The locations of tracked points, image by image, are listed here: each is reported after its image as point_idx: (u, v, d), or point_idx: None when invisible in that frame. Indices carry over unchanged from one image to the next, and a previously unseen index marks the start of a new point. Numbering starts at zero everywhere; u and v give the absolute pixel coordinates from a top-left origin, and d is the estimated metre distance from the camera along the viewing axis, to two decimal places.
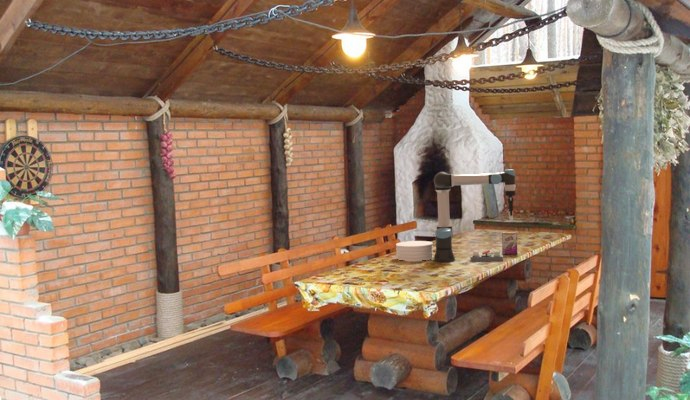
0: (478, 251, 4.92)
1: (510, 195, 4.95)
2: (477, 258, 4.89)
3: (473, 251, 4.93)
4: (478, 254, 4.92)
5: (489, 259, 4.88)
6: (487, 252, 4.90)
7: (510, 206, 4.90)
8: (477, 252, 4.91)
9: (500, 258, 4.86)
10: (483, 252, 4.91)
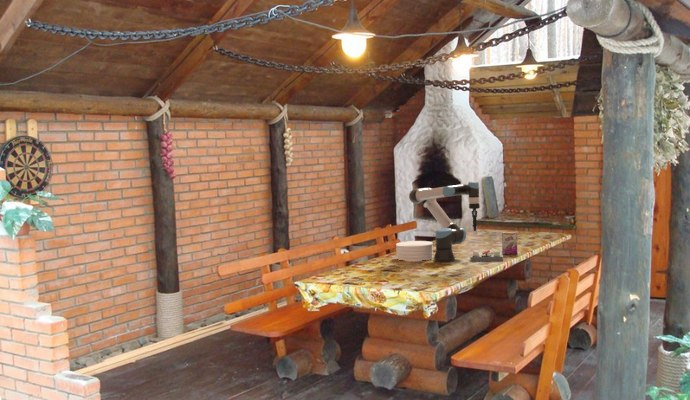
0: (478, 251, 4.92)
1: (474, 208, 4.87)
2: (477, 258, 4.89)
3: (473, 251, 4.93)
4: (478, 254, 4.92)
5: (489, 259, 4.88)
6: (487, 252, 4.90)
7: (474, 221, 4.85)
8: (477, 252, 4.91)
9: (500, 258, 4.86)
10: (483, 252, 4.91)
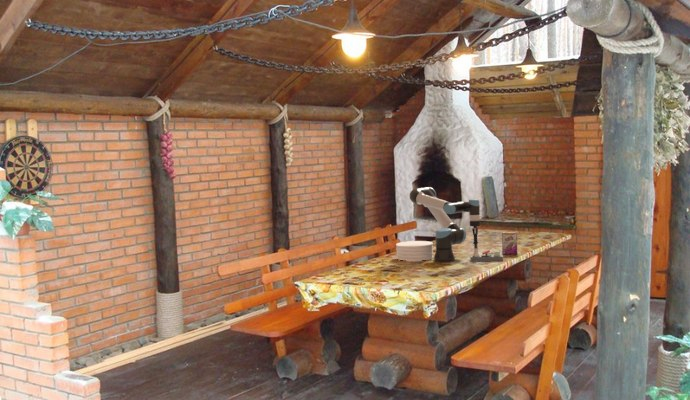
0: (478, 253, 4.92)
1: (474, 225, 4.88)
2: (477, 258, 4.89)
3: None
4: (478, 255, 4.92)
5: (489, 259, 4.88)
6: (487, 252, 4.90)
7: (474, 239, 4.88)
8: (477, 253, 4.91)
9: (500, 258, 4.86)
10: (483, 252, 4.91)
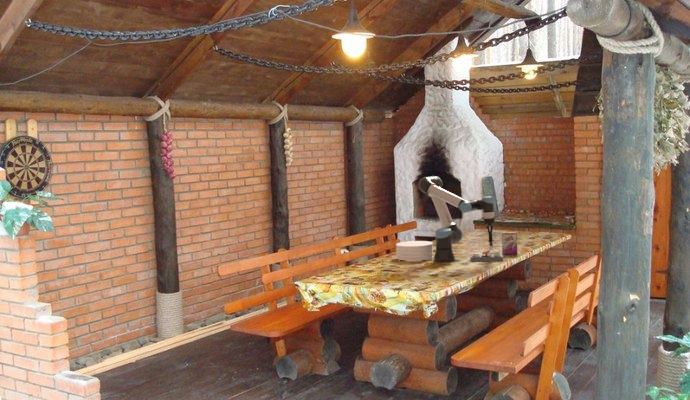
0: (478, 253, 4.93)
1: (489, 223, 4.86)
2: (477, 258, 4.89)
3: (473, 253, 4.94)
4: (478, 256, 4.92)
5: (489, 259, 4.88)
6: (487, 252, 4.90)
7: (489, 237, 4.86)
8: (477, 254, 4.92)
9: (500, 258, 4.86)
10: (483, 252, 4.91)
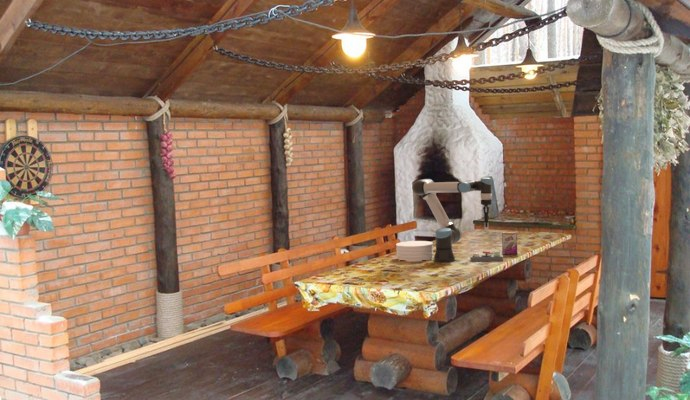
0: (478, 253, 4.93)
1: (486, 204, 4.88)
2: (477, 258, 4.89)
3: (473, 253, 4.94)
4: (478, 256, 4.92)
5: (489, 259, 4.88)
6: (487, 253, 4.90)
7: (485, 218, 4.88)
8: (477, 254, 4.92)
9: (500, 258, 4.86)
10: (484, 251, 4.91)
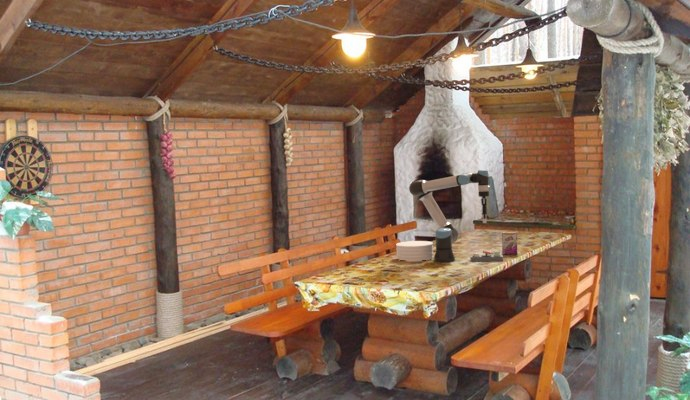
0: (478, 253, 4.93)
1: (483, 196, 4.92)
2: (477, 258, 4.89)
3: (473, 253, 4.94)
4: (478, 256, 4.92)
5: (489, 259, 4.88)
6: (488, 253, 4.90)
7: (483, 210, 4.92)
8: (477, 254, 4.92)
9: (500, 258, 4.86)
10: (484, 251, 4.91)
